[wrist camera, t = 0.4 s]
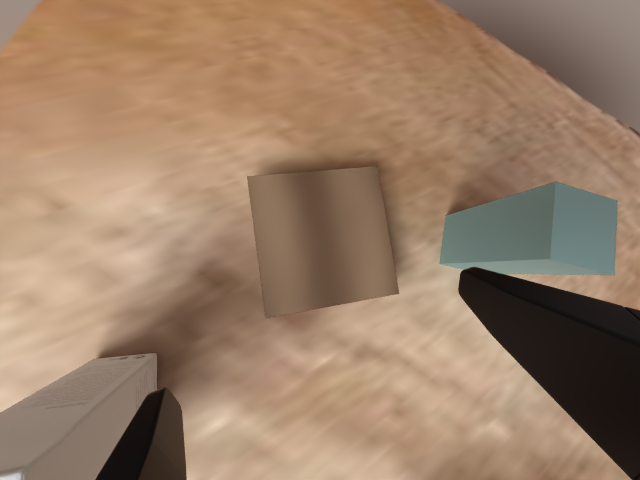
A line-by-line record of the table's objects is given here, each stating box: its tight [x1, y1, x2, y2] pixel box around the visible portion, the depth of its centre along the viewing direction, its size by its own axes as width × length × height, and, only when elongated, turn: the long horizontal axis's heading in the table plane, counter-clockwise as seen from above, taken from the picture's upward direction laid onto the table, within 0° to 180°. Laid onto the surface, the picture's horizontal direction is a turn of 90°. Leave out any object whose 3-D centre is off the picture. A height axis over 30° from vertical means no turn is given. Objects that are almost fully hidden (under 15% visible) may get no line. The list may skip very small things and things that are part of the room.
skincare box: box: [0, 353, 157, 480], centre depth 14 cm, size 6×4×12 cm
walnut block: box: [247, 166, 399, 318], centre depth 22 cm, size 10×10×3 cm
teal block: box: [440, 182, 618, 275], centre depth 21 cm, size 4×4×10 cm
